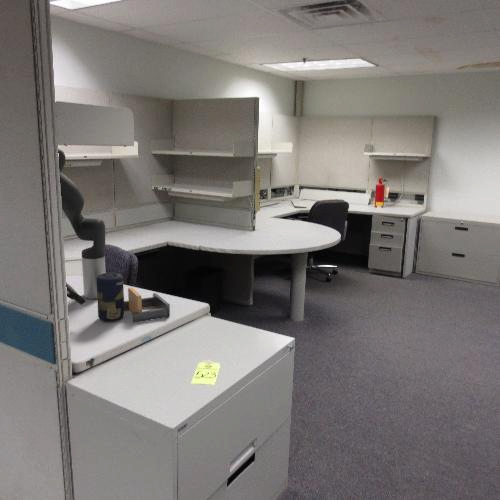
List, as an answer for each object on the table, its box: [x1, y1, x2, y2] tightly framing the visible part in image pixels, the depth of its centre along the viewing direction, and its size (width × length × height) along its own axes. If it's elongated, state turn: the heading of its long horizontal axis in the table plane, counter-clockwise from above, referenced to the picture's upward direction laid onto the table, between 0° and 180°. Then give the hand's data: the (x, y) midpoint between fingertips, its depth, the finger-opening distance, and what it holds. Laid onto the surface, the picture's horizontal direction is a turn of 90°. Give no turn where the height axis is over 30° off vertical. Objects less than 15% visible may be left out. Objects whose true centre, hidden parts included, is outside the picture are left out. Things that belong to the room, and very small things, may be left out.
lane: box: [124, 292, 171, 324], centre depth 185 cm, size 15×14×5 cm
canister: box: [96, 272, 125, 323], centre depth 177 cm, size 10×10×18 cm
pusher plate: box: [127, 286, 143, 313], centre depth 182 cm, size 12×2×9 cm, turn 30°
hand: (83, 302), depth 172 cm, fingers closed
